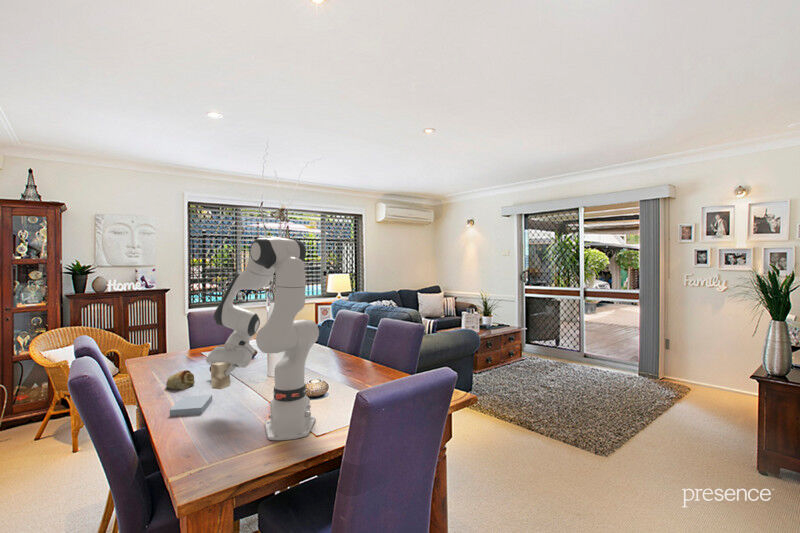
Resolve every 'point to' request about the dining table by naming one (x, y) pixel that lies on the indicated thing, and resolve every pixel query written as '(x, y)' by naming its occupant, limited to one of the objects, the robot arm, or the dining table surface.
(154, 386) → the dining table surface
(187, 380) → the pastry
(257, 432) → the dining table surface
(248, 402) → the dining table surface
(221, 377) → the maple block
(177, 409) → the base plate
